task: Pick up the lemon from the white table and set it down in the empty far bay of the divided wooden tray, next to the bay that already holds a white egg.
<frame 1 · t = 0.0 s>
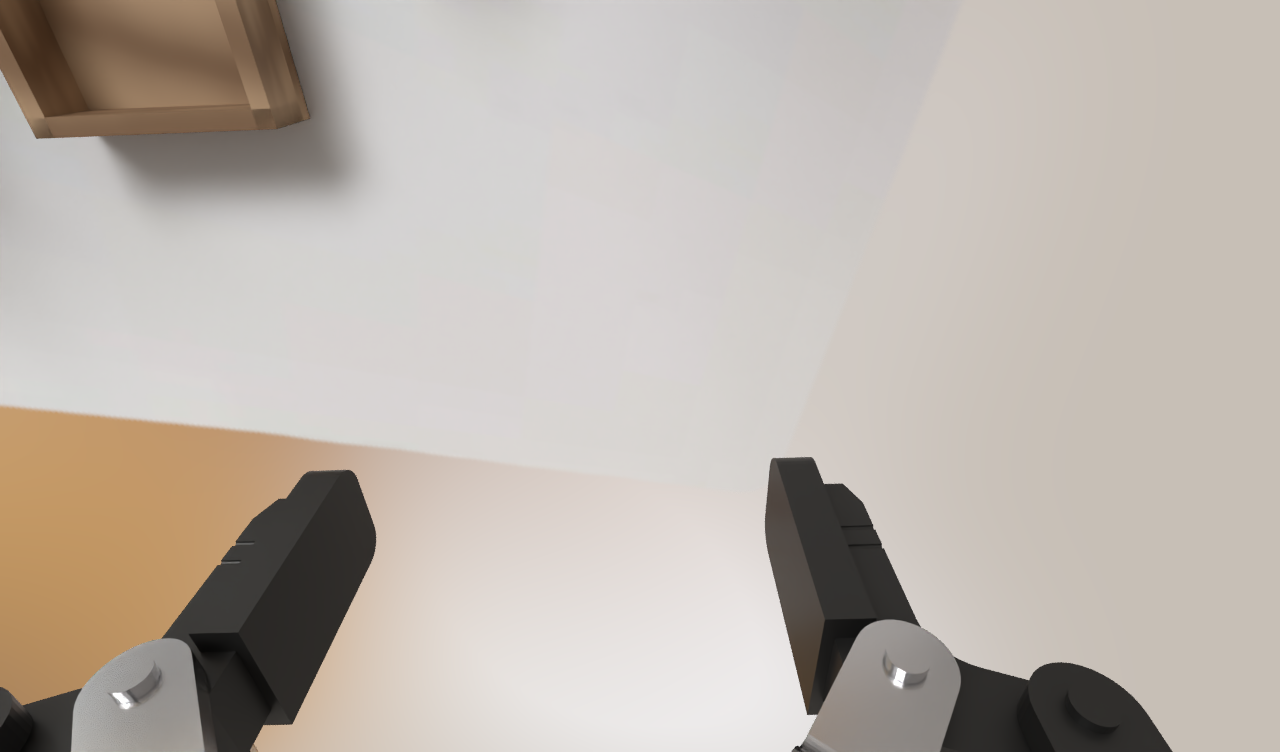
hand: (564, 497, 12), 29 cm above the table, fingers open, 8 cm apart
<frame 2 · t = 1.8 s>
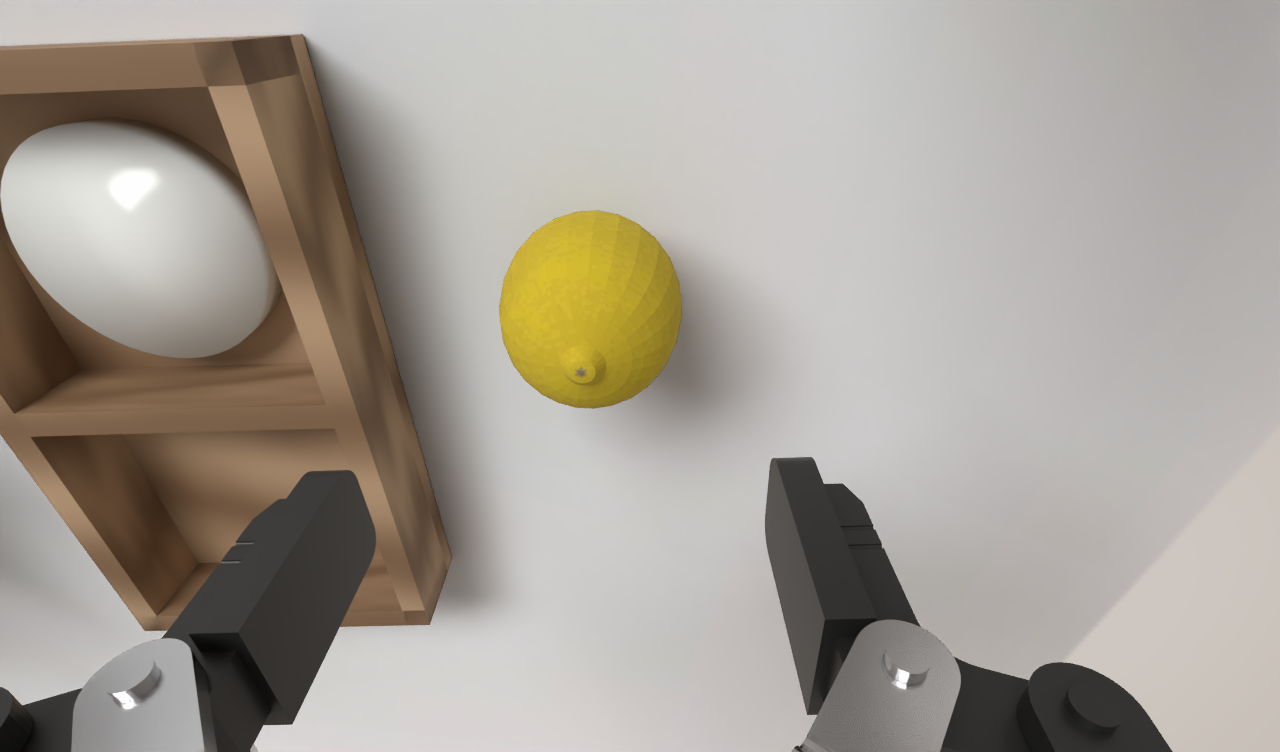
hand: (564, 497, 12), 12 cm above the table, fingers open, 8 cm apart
lemon: (599, 257, 22), on the table
white egg: (163, 241, 21), point 1 cm above the table, touching divided wooden tray
divided wooden tray: (236, 365, 25), on the table
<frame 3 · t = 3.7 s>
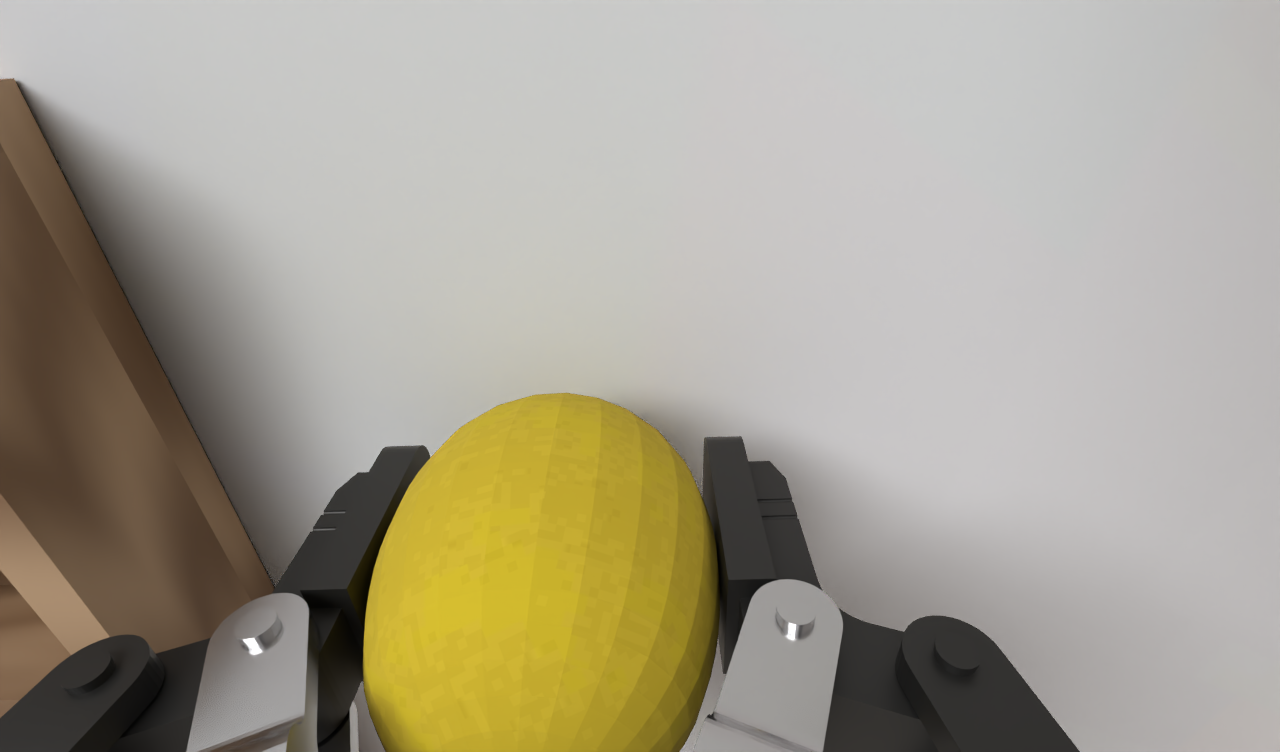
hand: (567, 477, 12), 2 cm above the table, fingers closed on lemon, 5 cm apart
lemon: (574, 427, 14), on the table, touching gripper
divided wooden tray: (19, 573, 16), on the table
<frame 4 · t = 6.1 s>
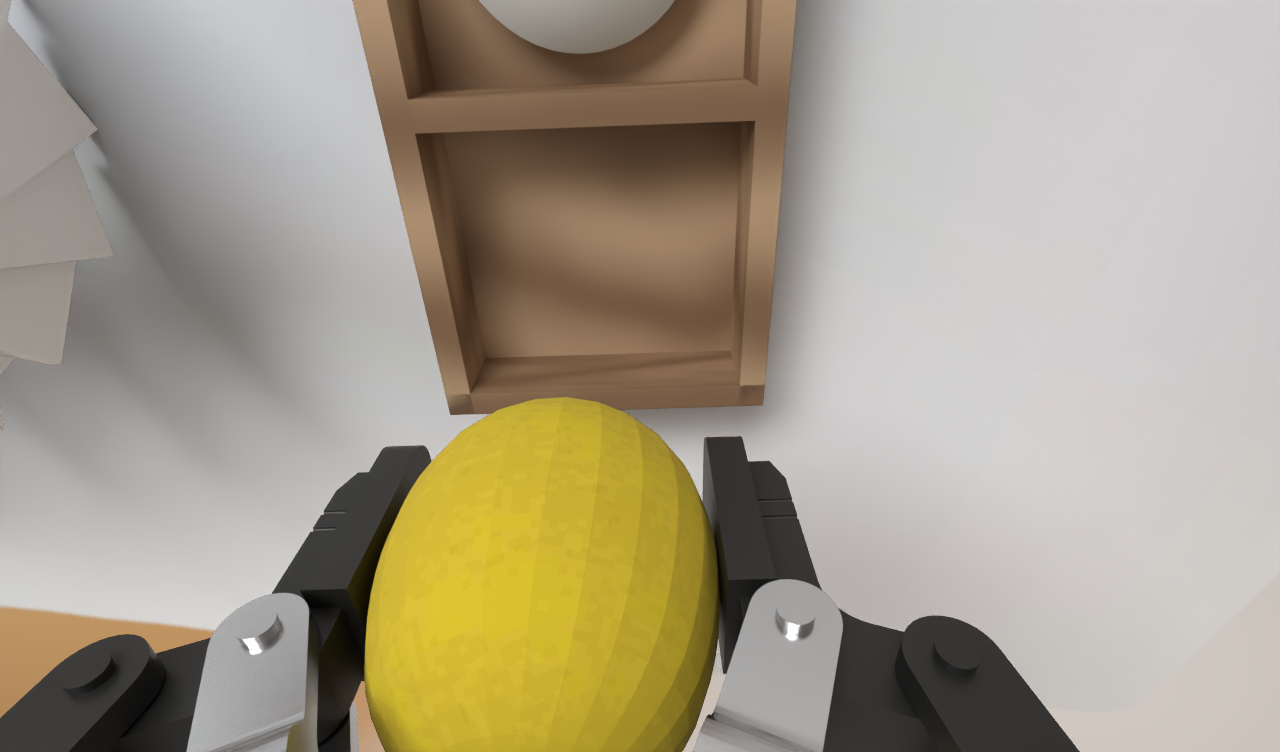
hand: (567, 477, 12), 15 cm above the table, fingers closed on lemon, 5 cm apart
lemon: (575, 430, 14), point 13 cm above the table, touching gripper
divided wooden tray: (591, 96, 23), on the table
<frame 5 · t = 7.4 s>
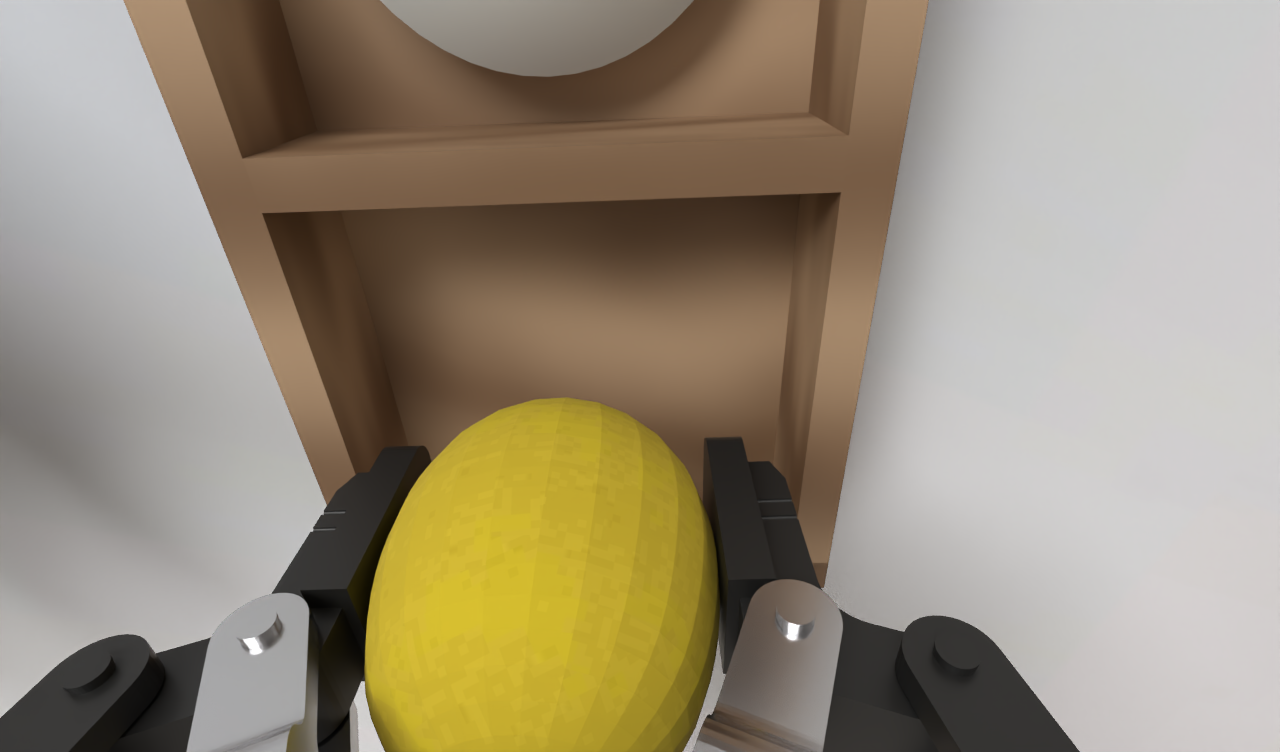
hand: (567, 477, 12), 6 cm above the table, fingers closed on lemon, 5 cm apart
lemon: (575, 431, 14), point 4 cm above the table, touching gripper
divided wooden tray: (567, 138, 14), on the table
when the fingers open (5 cm above the table, at t = 8.5 s): lemon drops 3 cm, resting on divided wooden tray.
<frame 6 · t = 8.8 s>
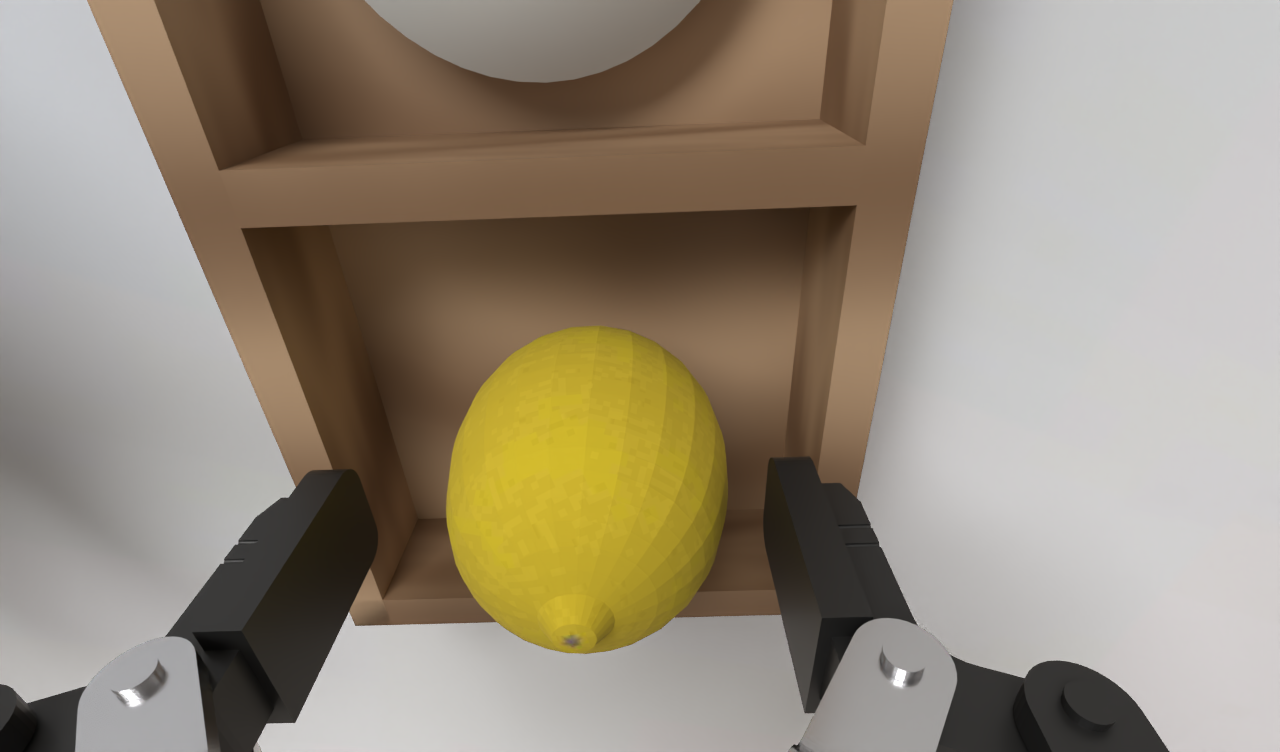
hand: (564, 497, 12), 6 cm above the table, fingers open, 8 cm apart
lemon: (601, 368, 16), point 1 cm above the table, touching divided wooden tray
divided wooden tray: (565, 147, 14), on the table
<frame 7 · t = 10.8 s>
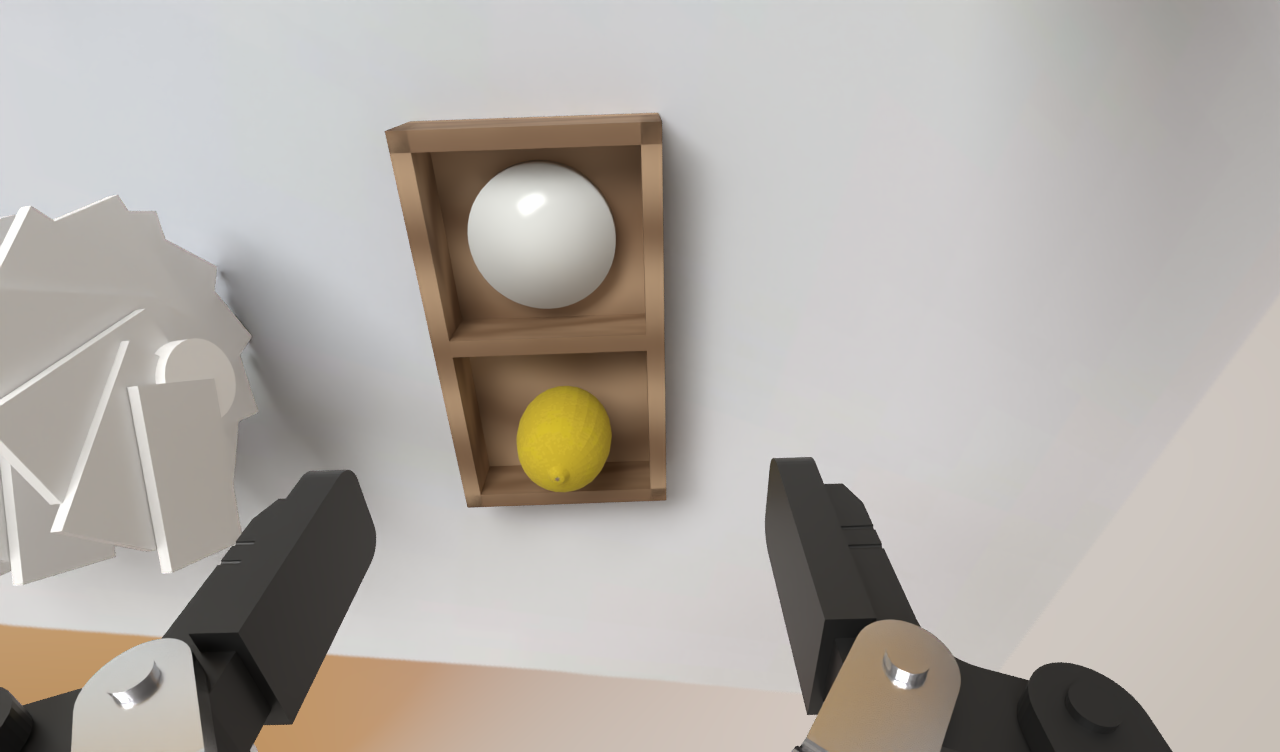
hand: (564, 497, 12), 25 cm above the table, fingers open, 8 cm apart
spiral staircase: (104, 333, 38), on the table
lemon: (570, 399, 39), point 1 cm above the table, touching divided wooden tray
white egg: (544, 234, 34), point 1 cm above the table, touching divided wooden tray
divided wooden tray: (555, 318, 37), on the table
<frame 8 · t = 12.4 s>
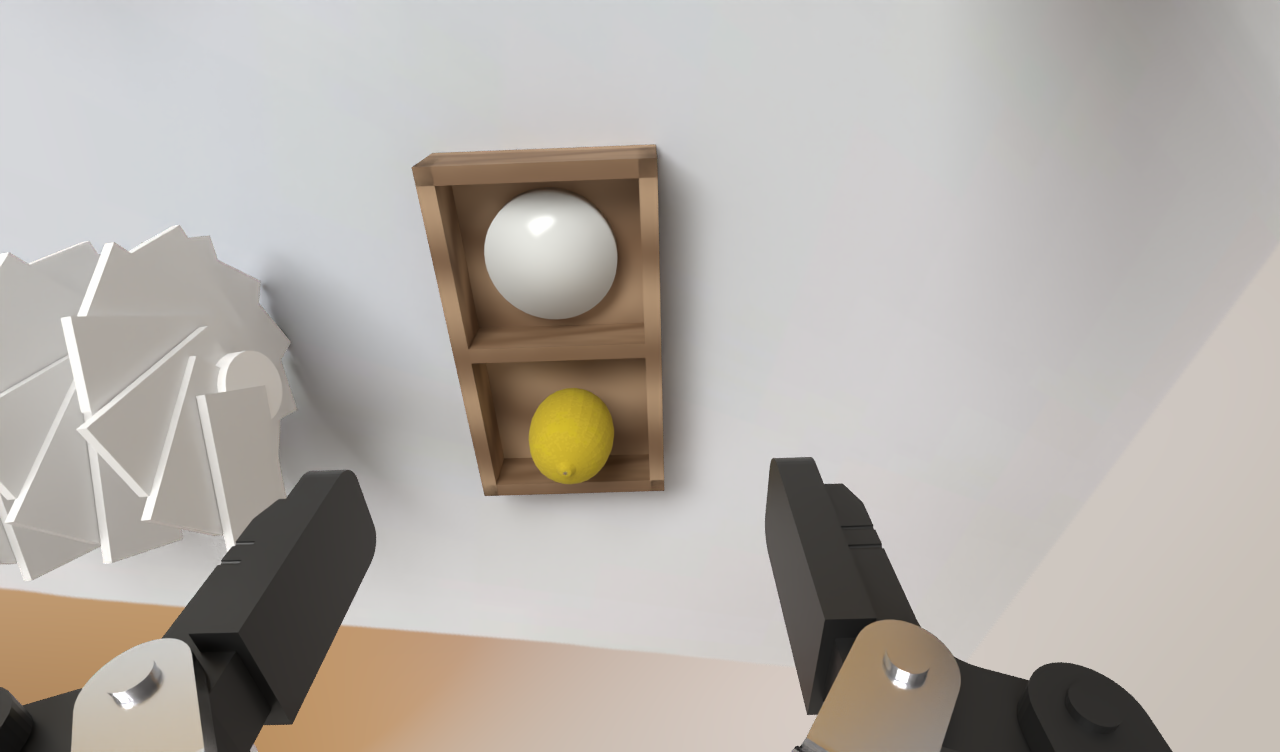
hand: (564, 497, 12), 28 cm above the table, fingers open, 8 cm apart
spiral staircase: (159, 338, 42), on the table
lemon: (577, 399, 43), point 1 cm above the table, touching divided wooden tray
white egg: (553, 252, 38), point 1 cm above the table, touching divided wooden tray
divided wooden tray: (563, 326, 41), on the table
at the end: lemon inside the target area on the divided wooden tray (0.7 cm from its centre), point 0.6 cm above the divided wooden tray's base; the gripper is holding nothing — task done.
